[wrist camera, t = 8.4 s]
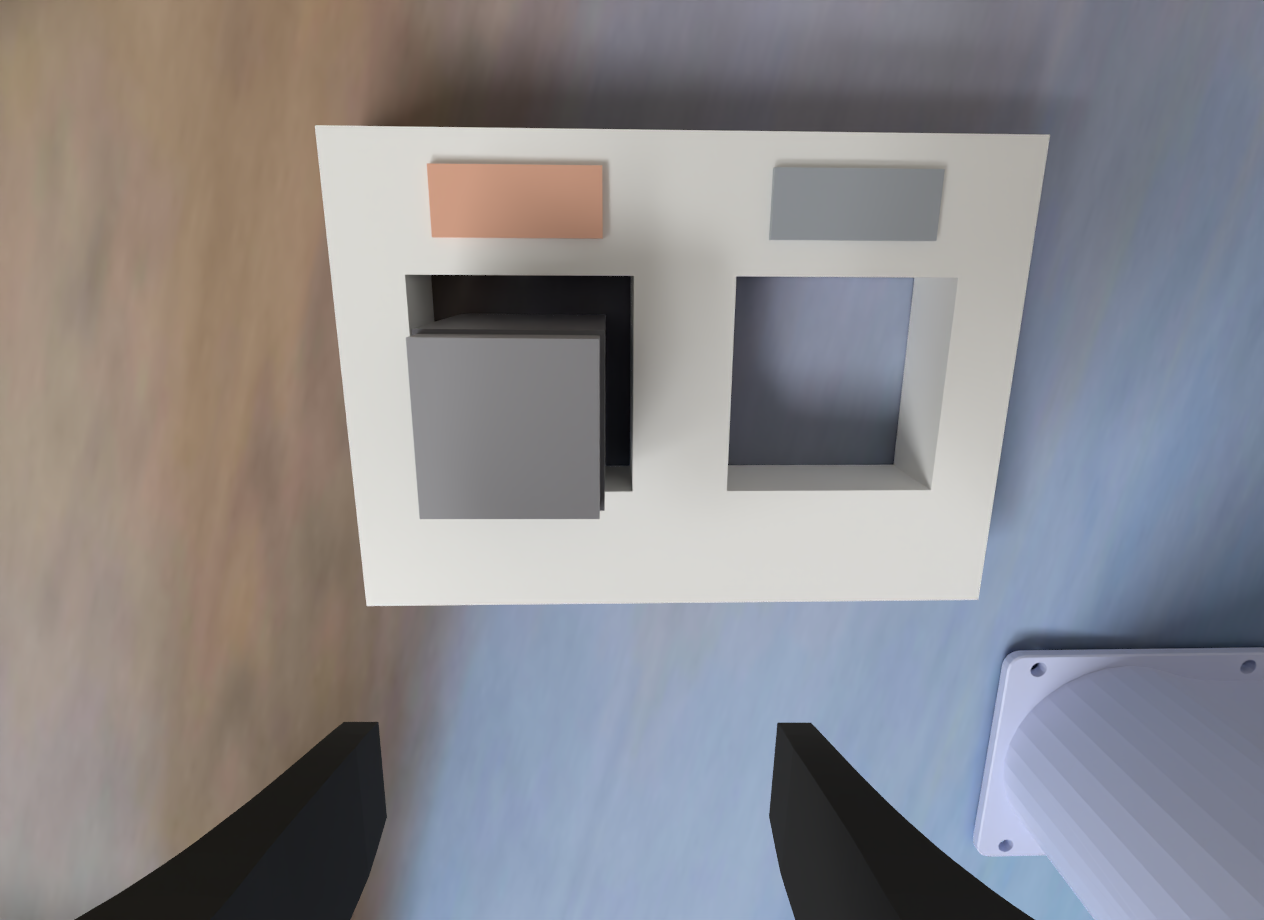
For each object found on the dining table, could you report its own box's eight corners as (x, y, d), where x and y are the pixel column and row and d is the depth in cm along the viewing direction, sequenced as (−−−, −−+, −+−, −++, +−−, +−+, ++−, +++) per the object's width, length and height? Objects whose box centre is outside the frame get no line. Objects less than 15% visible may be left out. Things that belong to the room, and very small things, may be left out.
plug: (605, 314, 19) (604, 334, 14) (605, 451, 20) (604, 523, 15) (463, 313, 19) (400, 332, 13) (470, 450, 20) (415, 523, 14)
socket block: (992, 152, 18) (1055, 132, 16) (936, 562, 22) (981, 602, 19) (354, 145, 18) (311, 123, 15) (394, 567, 21) (364, 609, 18)
